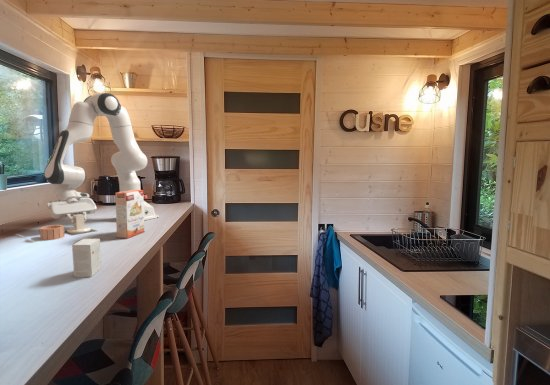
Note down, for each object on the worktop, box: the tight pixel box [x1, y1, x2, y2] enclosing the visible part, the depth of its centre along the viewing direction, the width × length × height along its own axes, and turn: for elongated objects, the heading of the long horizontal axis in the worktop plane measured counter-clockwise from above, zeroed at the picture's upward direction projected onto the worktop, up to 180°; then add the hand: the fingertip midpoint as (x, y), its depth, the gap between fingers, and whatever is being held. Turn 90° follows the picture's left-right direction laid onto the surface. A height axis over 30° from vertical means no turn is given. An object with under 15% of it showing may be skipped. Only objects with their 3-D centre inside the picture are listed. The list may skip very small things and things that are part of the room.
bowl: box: [39, 224, 66, 241], centre depth 160 cm, size 9×9×5 cm
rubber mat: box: [64, 228, 98, 236], centre depth 172 cm, size 12×12×1 cm
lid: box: [66, 214, 92, 235], centre depth 172 cm, size 10×10×8 cm
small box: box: [71, 238, 102, 278], centre depth 116 cm, size 8×6×10 cm
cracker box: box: [115, 189, 145, 239], centre depth 167 cm, size 14×6×21 cm, turn 168°
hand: (79, 221), depth 171 cm, fingers closed on lid, 3 cm apart
